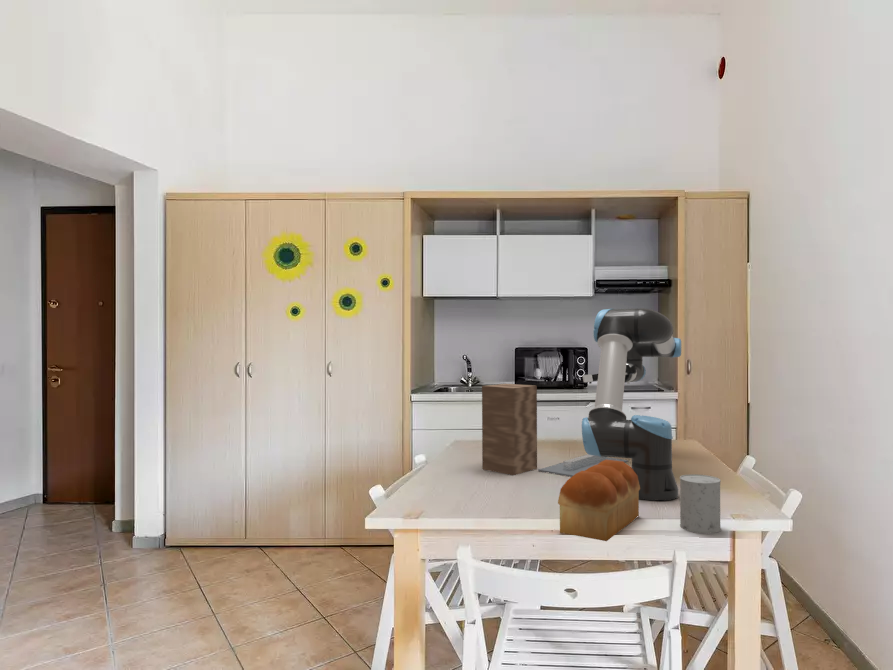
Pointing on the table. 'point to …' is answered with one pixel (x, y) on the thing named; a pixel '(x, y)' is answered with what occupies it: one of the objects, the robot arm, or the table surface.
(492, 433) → the walnut pedestal
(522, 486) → the table surface
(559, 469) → the rubber mat
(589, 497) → the bread
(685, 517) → the concrete cylinder
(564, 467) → the steel bar
